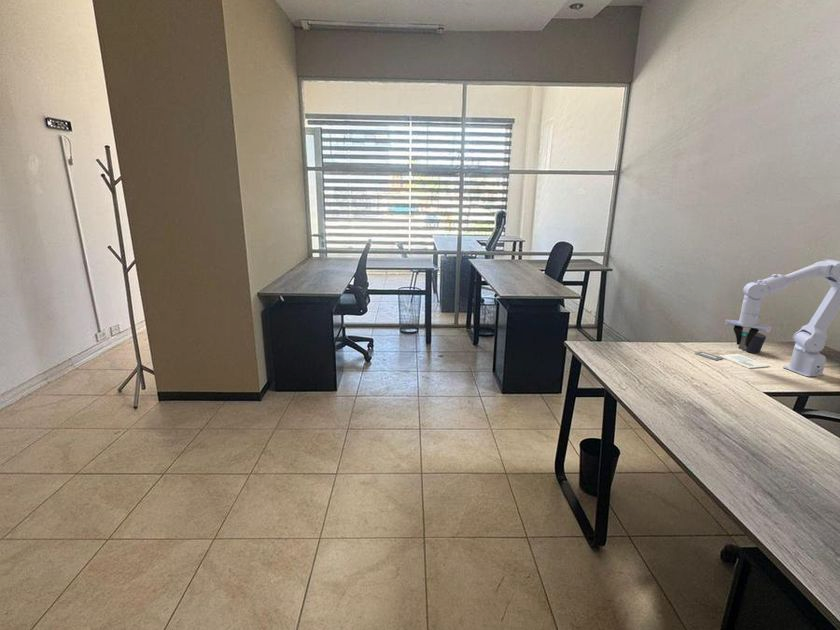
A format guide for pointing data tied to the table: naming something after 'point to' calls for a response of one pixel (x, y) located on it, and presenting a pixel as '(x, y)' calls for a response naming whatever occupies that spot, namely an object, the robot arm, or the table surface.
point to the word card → (709, 355)
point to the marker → (743, 340)
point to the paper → (743, 361)
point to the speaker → (756, 343)
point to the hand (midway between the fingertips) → (742, 344)
